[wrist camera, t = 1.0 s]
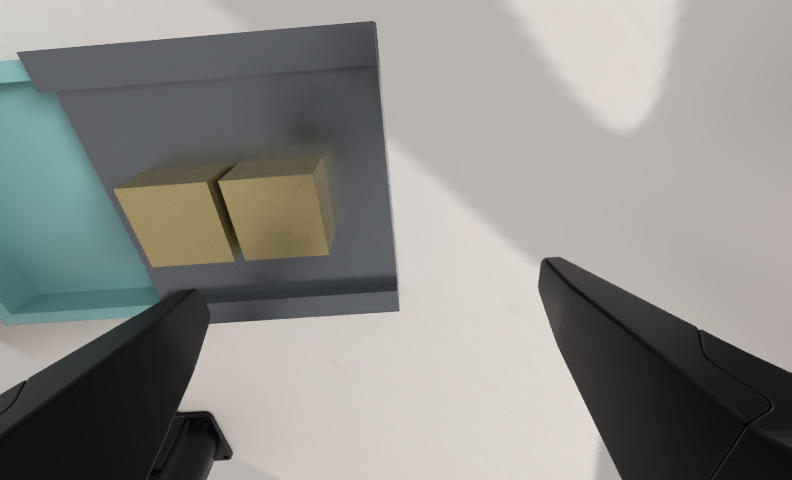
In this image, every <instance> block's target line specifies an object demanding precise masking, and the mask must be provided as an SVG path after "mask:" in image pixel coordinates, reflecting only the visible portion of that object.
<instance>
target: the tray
mask: <svg viewBox="0 0 792 480" xmlns="http://www.w3.org/2000/svg"><path fill="white" fill-rule="evenodd" d="M160 300H161V296H160V294H159V293H158V291H157V289H156V287H155V285H154V283H153V281H152V279H151V277H150V275H149V273H148V271H147V269H146V267H145V265H144V263H143V262H142V260H141V258H140V256H139V254H138V252H137V250H136V248H135V246H134V244H133V242H132V240H131V238H130V236H129V234H128V232H127V231H126V229H125V227H124V225H123V223H122V221H121V219H120V217H119V215H118V213H117V211H116V209H115V207H114V205H113V203H112V201H111V200H110V198H109V196H108V194H107V192H106V190H105V188H104V186H103V184H102V182H101V180H100V178H99V176H98V174H97V172H96V170H95V169H94V167H93V165H92V163H91V161H90V159H89V157H88V155H87V153H86V151H85V149H84V147H83V145H82V143H81V141H80V139H79V138H78V136H77V134H76V132H75V130H74V128H73V126H72V124H71V122H70V120H69V118H68V116H67V114H66V112H65V110H64V108H63V107H62V105H61V103H60V101H59V99H58V97H57V95H56V93H55V92H46V93H38V91H37V89H36V88H35V86H34V84H33V82H32V80H31V78H30V76H29V75H28V73H27V71H26V69H25V67H24V65H23V63H22V62H21V60H9V61H0V319H1V320H2V321H3V322H4V324H5V325H18V324H33V323H48V322H63V321H78V320H93V319H108V318H123V317H134V316H136V315H137V314H139V313H141V312H143V311H144V310H146V309H148V308H149V307H151V306H153V305H155V304H156V303H158V302H159V301H160Z"/></svg>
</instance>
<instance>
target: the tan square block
mask: <svg viewBox="0 0 792 480" xmlns="http://www.w3.org/2000/svg"><path fill="white" fill-rule="evenodd" d="M218 182H219V185H220V188H221V191H222V194H223V197H224V200H225V203H226V206H227V209H228V212H229V214H230V217H231V220H232V223H233V226H234V229H235V232H236V235H237V238H238V241H239V244H240V247H241V250H242V252H243V255H244V258H245V261H249V260H263V259H278V258H292V257H306V256H320V255H329V253H330V250H331V246H332V242H333V239H334V235H335V231H336V227H335V221H334V216H333V210H332V205H331V199H330V194H329V188H328V183H327V177H326V172H325V166H324V160H323V156H314V157H301V158H288V159H276V160H263V161H250V162H239V163H238V164H237V165H236V166H235V167H234V168H233V169H231V170H230V171H229V172H228V173H227V174H226V175H225V176H223V177H222V178H221V179H220V180H219V181H218Z"/></svg>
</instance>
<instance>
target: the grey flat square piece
mask: <svg viewBox="0 0 792 480" xmlns="http://www.w3.org/2000/svg"><path fill="white" fill-rule="evenodd" d="M17 54H18V56H19V58H20V60H21V62H22V63H23V65H24V67H25V69H26V71H27V73H28V75H29V76H30V78H31V80H32V82H33V84H34V86H35V88H36V89H37V91H38V93H46V92H55V93H56V95H57V97H58V99H59V101H60V103H61V105H62V107H63V108H64V110H65V112H66V114H67V116H68V118H69V120H70V122H71V124H72V126H73V128H74V130H75V132H76V134H77V136H78V138H79V139H80V141H81V143H82V145H83V147H84V149H85V151H86V153H87V155H88V157H89V159H90V161H91V163H92V165H93V167H94V169H95V170H96V172H97V174H98V176H99V178H100V180H101V182H102V184H103V186H104V188H105V190H106V192H107V194H108V196H109V198H110V200H111V201H112V203H113V205H114V207H115V209H116V211H117V213H118V215H119V217H120V219H121V221H122V223H123V225H124V227H125V229H126V231H127V232H128V234H129V236H130V238H131V240H132V242H133V244H134V246H135V248H136V250H137V252H138V254H139V256H140V258H141V260H142V262H143V263H144V265H145V267H146V269H147V271H148V273H149V275H150V277H151V279H152V281H153V283H154V285H155V287H156V289H157V291H158V293H159V294H160V296H161V300H163V299H165V298H167V297H168V296H170V295H172V294H173V293H175V292H177V291H179V290H181V289H190V288H196V289H198V290H199V291H200V292H201V294H202V296H203V298H204V300H205V302H206V304H207V306H208V308H209V311H210V322H209V324H213V323H228V322H243V321H259V320H274V319H289V318H304V317H319V316H334V315H349V314H365V313H380V312H395V311H399V280H398V267H397V256H396V244H395V233H394V222H393V210H392V199H391V188H390V176H389V165H388V153H387V142H386V131H385V119H384V108H383V97H382V86H381V74H380V64H379V63H380V62H379V51H378V40H377V28H376V22H374V21H369V22H357V23H346V24H335V25H324V26H311V27H300V28H289V29H278V30H265V31H254V32H243V33H231V34H220V35H208V36H197V37H185V38H174V39H162V40H151V41H139V42H128V43H117V44H105V45H94V46H82V47H71V48H59V49H48V50H36V51H25V52H17ZM314 156H323V160H324V166H325V172H326V177H327V183H328V188H329V194H330V199H331V205H332V210H333V216H334V221H335V227H336V231H335V235H334V239H333V242H332V246H331V250H330V253H329V255H320V256H306V257H292V258H278V259H263V260H249V261H245V258H244V255H243V252H241V253H240V255H239V256H238V258H237V259H236V261H235V262H221V263H207V264H192V265H178V266H164V267H152V265H151V264H150V262H149V260H148V258H147V256H146V254H145V252H144V250H143V248H142V246H141V244H140V242H139V240H138V238H137V236H136V234H135V232H134V230H133V228H132V226H131V224H130V222H129V220H128V218H127V216H126V214H125V212H124V210H123V208H122V206H121V204H120V202H119V200H118V198H117V196H116V194H115V192H114V190H113V189H114V188H116V187H118V186H120V185H121V184H123V183H125V182H127V181H128V180H130V179H132V178H134V177H135V176H137V175H139V174H141V173H142V172H144V171H146V170H148V169H160V168H173V167H186V166H198V165H211V164H224V163H230V166H231V169H233V168H234V167H235V166H236V165H237V164H238V163H239V162H250V161H263V160H276V159H288V158H301V157H314ZM161 300H160V301H161ZM160 301H159V302H160Z"/></svg>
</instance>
